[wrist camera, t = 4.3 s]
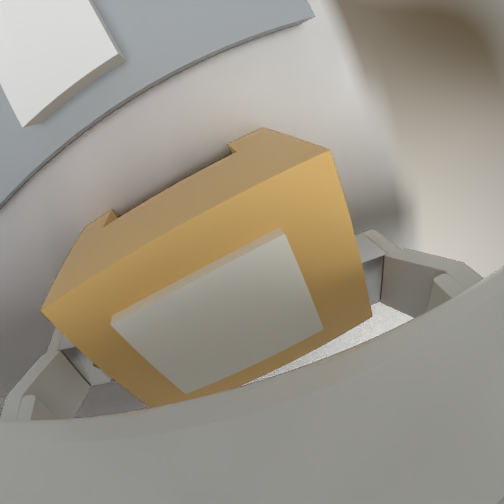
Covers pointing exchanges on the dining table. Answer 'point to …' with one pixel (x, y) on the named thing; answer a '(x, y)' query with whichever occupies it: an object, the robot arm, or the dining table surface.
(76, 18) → the backplate
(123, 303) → the module
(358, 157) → the dining table surface
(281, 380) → the robot arm
